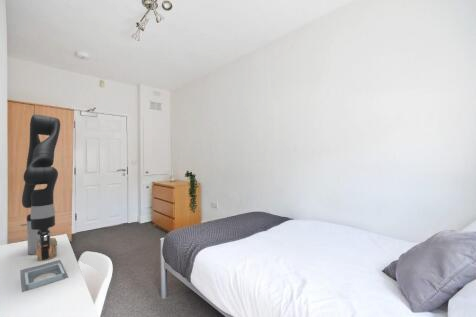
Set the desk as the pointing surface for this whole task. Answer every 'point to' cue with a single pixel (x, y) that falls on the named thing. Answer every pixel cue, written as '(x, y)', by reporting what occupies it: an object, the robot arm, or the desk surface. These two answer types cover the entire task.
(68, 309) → the desk surface
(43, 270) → the square tray
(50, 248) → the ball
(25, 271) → the mat
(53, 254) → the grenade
